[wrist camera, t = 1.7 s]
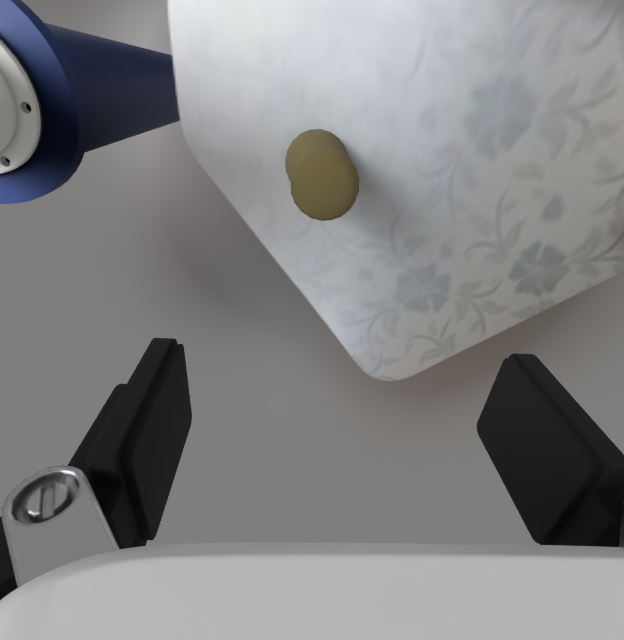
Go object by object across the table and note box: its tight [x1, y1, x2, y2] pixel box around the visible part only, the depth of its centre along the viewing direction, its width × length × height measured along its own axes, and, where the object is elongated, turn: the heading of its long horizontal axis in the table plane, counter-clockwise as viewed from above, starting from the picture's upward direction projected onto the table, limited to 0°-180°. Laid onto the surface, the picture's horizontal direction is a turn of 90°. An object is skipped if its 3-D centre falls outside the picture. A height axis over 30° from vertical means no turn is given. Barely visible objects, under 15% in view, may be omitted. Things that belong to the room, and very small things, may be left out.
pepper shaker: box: [285, 129, 359, 221], centre depth 32 cm, size 6×6×11 cm
